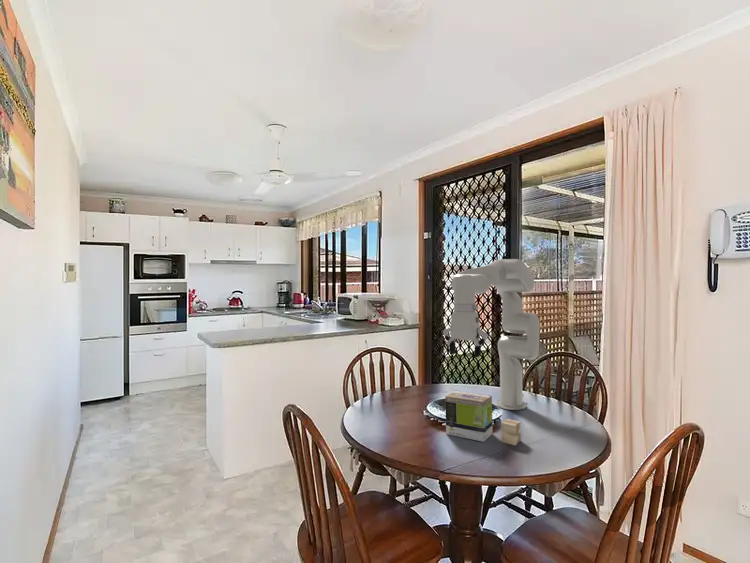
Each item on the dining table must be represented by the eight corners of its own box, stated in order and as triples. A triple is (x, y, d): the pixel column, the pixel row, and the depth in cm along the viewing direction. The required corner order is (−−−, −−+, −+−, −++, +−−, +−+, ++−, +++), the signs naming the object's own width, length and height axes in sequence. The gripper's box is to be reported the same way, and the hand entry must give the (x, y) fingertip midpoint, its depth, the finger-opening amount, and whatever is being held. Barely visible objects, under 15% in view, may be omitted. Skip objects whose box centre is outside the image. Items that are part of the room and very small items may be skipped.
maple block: (507, 437, 155) (506, 418, 155) (520, 440, 152) (520, 421, 152) (501, 442, 152) (501, 422, 151) (515, 445, 148) (515, 425, 148)
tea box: (493, 434, 159) (492, 395, 159) (483, 443, 151) (483, 402, 150) (455, 426, 168) (455, 389, 167) (445, 434, 159) (444, 395, 159)
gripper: (491, 308, 153) (491, 356, 153) (447, 306, 163) (447, 351, 163) (483, 310, 146) (483, 359, 147) (438, 308, 157) (438, 354, 157)
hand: (464, 355), depth 155 cm, fingers open, 9 cm apart
